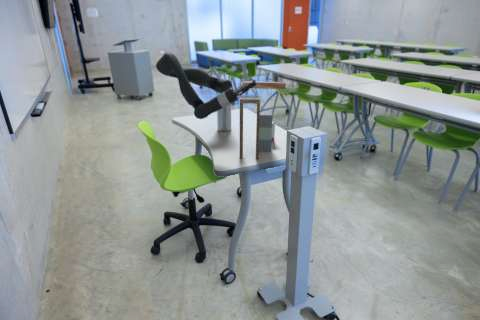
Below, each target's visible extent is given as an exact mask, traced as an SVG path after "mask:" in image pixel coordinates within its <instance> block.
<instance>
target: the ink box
mask: <svg viewBox="0 0 480 320" xmlns="http://www.w3.org/2000/svg"><path fill="white" fill-rule="evenodd" d="M275 127H276V123H275V122H274V121H273V120H272V137H271V143H272V142H273V143H274V142H275V135H276V134H275V133H276V131H275V130H276V128H275Z"/></svg>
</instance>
